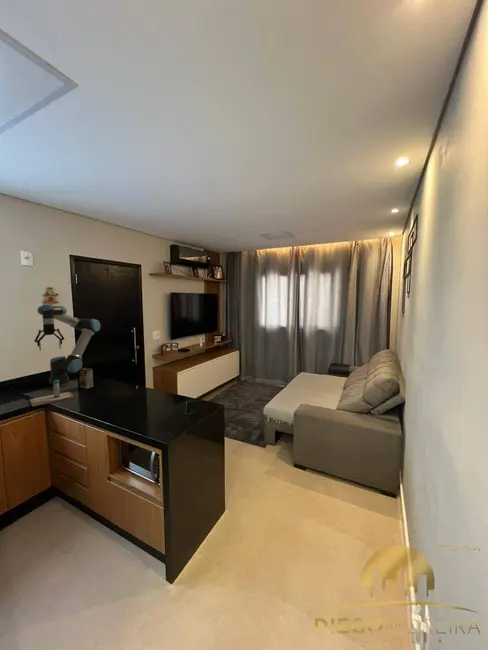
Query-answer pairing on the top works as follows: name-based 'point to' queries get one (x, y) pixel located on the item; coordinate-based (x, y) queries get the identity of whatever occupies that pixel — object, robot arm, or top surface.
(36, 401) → the writing board
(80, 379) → the coffee box
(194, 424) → the top surface
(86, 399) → the top surface
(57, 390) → the marker
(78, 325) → the robot arm
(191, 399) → the top surface
